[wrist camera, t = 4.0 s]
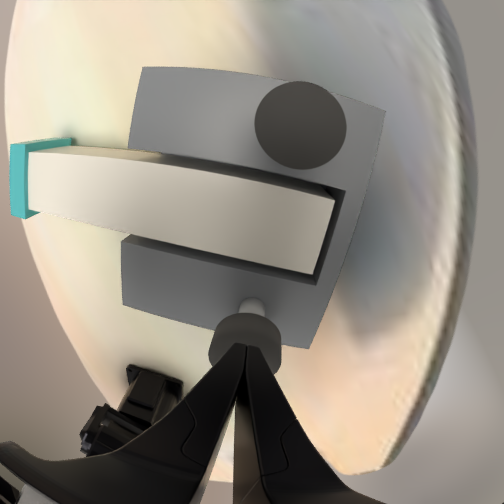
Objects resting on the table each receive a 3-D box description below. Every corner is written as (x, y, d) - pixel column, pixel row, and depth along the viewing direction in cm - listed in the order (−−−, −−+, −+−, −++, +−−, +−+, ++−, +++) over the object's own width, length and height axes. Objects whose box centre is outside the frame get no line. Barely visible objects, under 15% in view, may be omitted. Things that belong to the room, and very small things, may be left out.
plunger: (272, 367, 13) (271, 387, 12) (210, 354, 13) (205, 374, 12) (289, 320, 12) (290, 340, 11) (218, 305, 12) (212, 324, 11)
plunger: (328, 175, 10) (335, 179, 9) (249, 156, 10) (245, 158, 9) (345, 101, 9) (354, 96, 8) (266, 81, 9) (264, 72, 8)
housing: (302, 301, 21) (310, 366, 15) (154, 267, 21) (112, 317, 15) (355, 118, 16) (398, 108, 9) (178, 84, 16) (128, 60, 9)
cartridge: (301, 250, 19) (309, 288, 14) (53, 197, 19) (11, 215, 14) (322, 176, 17) (340, 190, 12) (55, 137, 17) (10, 144, 12)
